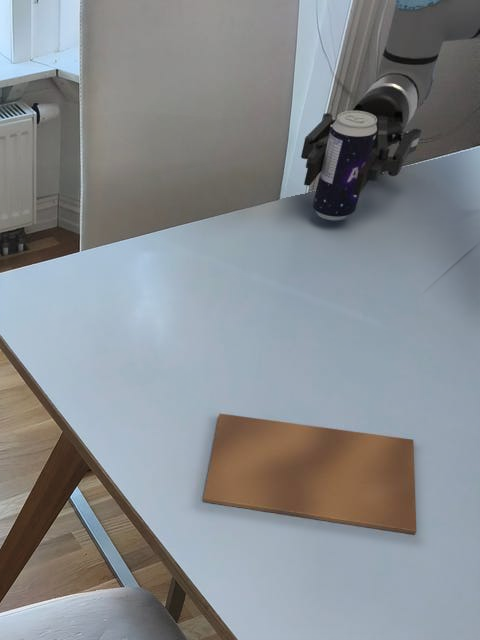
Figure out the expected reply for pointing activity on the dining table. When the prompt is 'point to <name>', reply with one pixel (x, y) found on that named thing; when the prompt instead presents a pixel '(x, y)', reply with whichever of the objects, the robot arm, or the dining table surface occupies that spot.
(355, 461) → the copper plate
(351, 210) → the beverage can
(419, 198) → the dining table surface
